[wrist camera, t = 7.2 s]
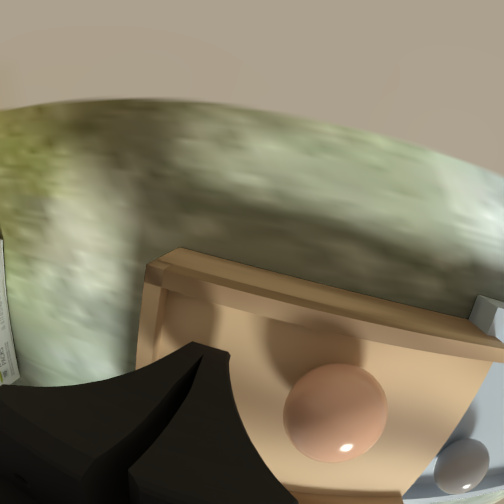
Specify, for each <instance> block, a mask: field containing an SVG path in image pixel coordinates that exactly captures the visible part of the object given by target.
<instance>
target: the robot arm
mask: <svg viewBox="0 0 504 504" xmlns="http://www.w3.org/2000/svg"><path fill="white" fill-rule="evenodd" d="M230 357H231V355H230V354H229V352H228V351H224V350H221V349H217V348H214V347H210V346H207V345H203V344H200V343H197V342H193V341H192V342H190V343H188V344H186V345H184V346H183V347H181V348H179V349H177V350H176V351H174V352H172V353H170V354H169V355H167V356H165V357H163V358H161V359H159V360H157V361H155V362H153V363H151V364H149V365H147V366H144V367H142V368H140V369H137V370H135V371H132V372H130V373H127V374H124V375H121V376H117V377H113V378H110V379H106V380H102V381H96V382H91V383H85V384H79V385H71V386H58V387H31V386H17V385H7V384H2V385H1V386H0V504H299V503H298V500H297V499H296V498H295V497H294V496H293V495H292V494H291V493H290V492H289V491H288V490H287V489H286V488H285V487H284V486H283V485H282V484H281V483H280V482H279V480H278V479H277V478H276V477H275V476H274V474H273V473H272V472H271V470H270V469H269V468H268V466H267V465H266V464H265V462H264V461H263V459H262V458H261V456H260V454H259V453H258V451H257V450H256V448H255V446H254V445H253V443H252V441H251V439H250V437H249V435H248V433H247V431H246V429H245V427H244V425H243V422H242V420H241V418H240V415H239V412H238V409H237V406H236V403H235V399H234V395H233V391H232V386H231V380H230V372H229V361H230Z"/></svg>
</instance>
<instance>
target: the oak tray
mask: <svg viewBox="0 0 504 504" xmlns="http://www.w3.org/2000/svg"><path fill="white" fill-rule="evenodd" d="M192 341H193V342H197V343H200V344H203V345H207V346H210V347H214V348H217V349H221V350H224V351H228V352H229V354H230V355H231V357H230V361H229V372H230V380H231V386H232V391H233V395H234V399H235V403H236V406H237V409H238V412H239V415H240V418H241V420H242V422H243V425H244V427H245V429H246V431H247V433H248V435H249V437H250V439H251V441H252V443H253V445H254V446H255V448H256V450H257V451H258V453H259V454H260V456H261V458H262V459H263V461H264V462H265V464H266V465H267V466H268V468H269V469H270V470H271V472H272V473H273V474H274V476H275V477H276V478H277V479H278V480H279V482H280V483H281V484H282V485H283V486H284V487H285V488H286V489H287V490H288V491H289V492H290V493H291V494H292V495H293V496H294V497H295V498H296V499H297V500H298V503H299V504H404V503H403V500H402V496H403V495H404V494H405V492H406V491H407V490H408V489H409V488H410V487H411V486H412V484H413V483H414V482H415V481H416V480H417V479H418V477H419V476H420V475H421V474H422V473H423V471H424V470H425V469H426V468H427V466H428V465H429V464H430V462H431V461H432V460H433V459H434V457H435V456H436V455H437V453H438V452H439V451H440V449H441V448H442V446H443V445H444V444H445V442H446V441H447V439H448V438H449V437H450V435H451V434H452V432H453V431H454V429H455V428H456V426H457V425H458V423H459V422H460V420H461V418H462V417H463V415H464V414H465V412H466V411H467V409H468V407H469V406H470V404H471V402H472V401H473V399H474V397H475V395H476V394H477V392H478V390H479V388H480V386H481V385H482V383H483V381H484V379H485V377H486V375H487V373H488V371H489V369H490V367H491V365H492V363H493V362H497V363H504V343H503V342H502V341H500V340H499V339H498V338H497V337H495V336H490V335H487V334H485V333H484V332H483V331H482V330H480V329H479V328H478V327H477V326H476V325H474V324H473V323H472V322H471V321H469V320H468V319H464V318H459V317H455V316H451V315H447V314H442V313H438V312H434V311H430V310H426V309H421V308H417V307H413V306H409V305H405V304H401V303H396V302H392V301H388V300H384V299H380V298H376V297H372V296H368V295H364V294H360V293H356V292H352V291H348V290H344V289H340V288H336V287H332V286H328V285H324V284H320V283H316V282H312V281H308V280H304V279H300V278H296V277H292V276H288V275H284V274H280V273H276V272H272V271H269V270H265V269H261V268H257V267H253V266H249V265H245V264H241V263H238V262H234V261H230V260H226V259H222V258H219V257H215V256H211V255H207V254H203V253H200V252H196V251H192V250H188V249H185V248H181V247H179V248H177V249H175V250H173V251H171V252H169V253H167V254H165V255H163V256H162V257H160V258H158V259H156V260H154V261H152V262H150V263H148V264H147V265H146V272H145V279H144V287H143V295H142V303H141V312H140V321H139V331H138V342H137V354H136V368H135V370H137V369H140V368H142V367H144V366H147V365H149V364H151V363H153V362H155V361H157V360H159V359H161V358H163V357H165V356H167V355H169V354H170V353H172V352H174V351H176V350H177V349H179V348H181V347H183V346H184V345H186V344H188V343H190V342H192ZM331 363H346V364H351V365H355V366H358V367H361V368H363V369H364V370H366V371H368V372H369V373H370V374H372V375H373V376H374V377H375V378H376V379H377V380H378V382H379V383H380V385H381V386H382V388H383V390H384V392H385V395H386V398H387V403H388V416H387V422H386V425H385V428H384V430H383V432H382V434H381V436H380V437H379V439H378V440H377V442H376V443H375V444H374V445H373V446H372V447H371V448H370V449H369V450H368V451H367V452H365V453H364V454H362V455H360V456H359V457H357V458H354V459H352V460H349V461H346V462H341V463H323V462H318V461H315V460H312V459H310V458H308V457H306V456H304V455H303V454H302V453H300V452H299V451H298V450H297V449H296V448H295V447H294V446H293V445H292V443H291V442H290V441H289V439H288V437H287V435H286V432H285V429H284V425H283V409H284V404H285V400H286V398H287V396H288V394H289V392H290V390H291V389H292V387H293V386H294V384H295V383H296V382H297V381H298V380H299V379H300V378H301V377H302V376H303V375H305V374H306V373H308V372H309V371H311V370H313V369H315V368H317V367H319V366H323V365H326V364H331Z"/></svg>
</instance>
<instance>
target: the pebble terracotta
mask: <svg viewBox="0 0 504 504" xmlns="http://www.w3.org/2000/svg"><path fill="white" fill-rule="evenodd" d="M387 416H388V403H387V398H386V395H385V392H384V390H383V388H382V386H381V385H380V383H379V382H378V380H377V379H376V378H375V377H374V376H373V375H372V374H370V373H369V372H368V371H366V370H364V369H363V368H361V367H358V366H355V365H351V364H346V363H331V364H326V365H323V366H319V367H317V368H315V369H313V370H311V371H309V372H308V373H306V374H305V375H303V376H302V377H301V378H300V379H299V380H298V381H297V382H296V383H295V384H294V386H293V387H292V389H291V390H290V392H289V394H288V396H287V398H286V400H285V404H284V409H283V425H284V429H285V432H286V435H287V437H288V439H289V441H290V442H291V443H292V445H293V446H294V447H295V448H296V449H297V450H298V451H299V452H300V453H302V454H303V455H304V456H306V457H308V458H310V459H312V460H315V461H318V462H323V463H341V462H346V461H349V460H352V459H354V458H357V457H359V456H360V455H362V454H364V453H365V452H367V451H368V450H369V449H370V448H371V447H372V446H373V445H374V444H375V443H376V442H377V440H378V439H379V437H380V436H381V434H382V432H383V430H384V428H385V425H386V422H387Z"/></svg>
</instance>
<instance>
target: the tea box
mask: <svg viewBox="0 0 504 504" xmlns="http://www.w3.org/2000/svg"><path fill="white" fill-rule="evenodd" d="M19 377H20V375H19V371H18V366H17V360H16V355H15V349H14V343H13V338H12V332H11V326H10V319H9V311H8V304H7V295H6V286H5V273H4V259H3V240H2V239H0V386H1V385H2V384H7V385H10V384H12V383H13V382H15V381H16V380H17V379H19Z"/></svg>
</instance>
